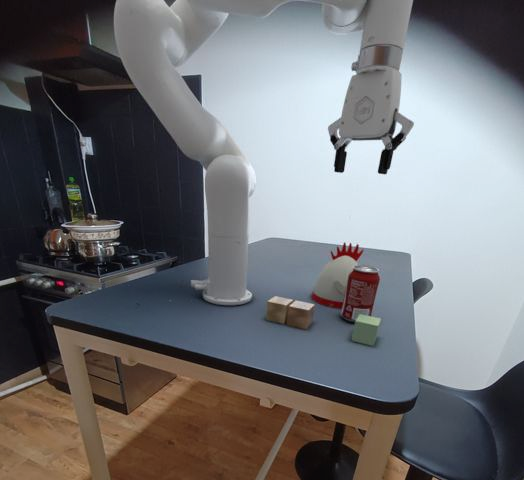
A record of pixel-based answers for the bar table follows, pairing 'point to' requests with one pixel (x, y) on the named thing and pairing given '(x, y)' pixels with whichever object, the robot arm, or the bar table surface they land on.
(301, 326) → the beech block
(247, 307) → the bar table surface
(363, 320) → the sage block
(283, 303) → the maple block
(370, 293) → the soda can
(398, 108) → the robot arm
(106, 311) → the bar table surface
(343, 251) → the kitchen timer
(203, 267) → the bar table surface
